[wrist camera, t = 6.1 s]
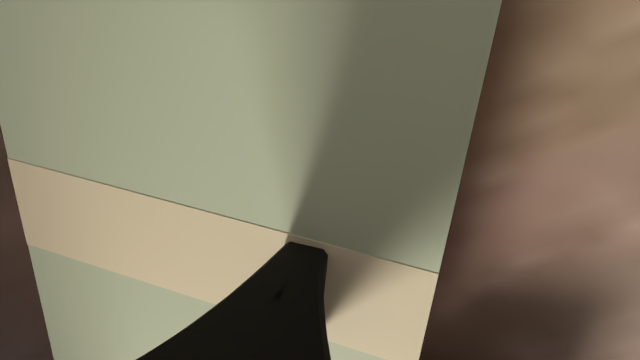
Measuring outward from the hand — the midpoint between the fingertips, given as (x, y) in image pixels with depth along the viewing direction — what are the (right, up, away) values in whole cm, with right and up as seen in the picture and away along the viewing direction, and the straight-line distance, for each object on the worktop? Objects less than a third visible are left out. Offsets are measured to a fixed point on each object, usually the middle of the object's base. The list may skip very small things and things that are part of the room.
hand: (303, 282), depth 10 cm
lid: (-2, +1, +1) cm, 2 cm away
